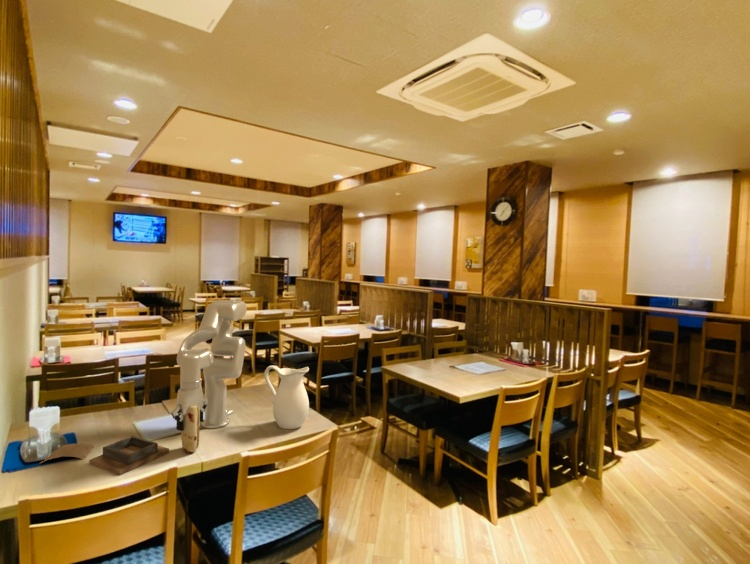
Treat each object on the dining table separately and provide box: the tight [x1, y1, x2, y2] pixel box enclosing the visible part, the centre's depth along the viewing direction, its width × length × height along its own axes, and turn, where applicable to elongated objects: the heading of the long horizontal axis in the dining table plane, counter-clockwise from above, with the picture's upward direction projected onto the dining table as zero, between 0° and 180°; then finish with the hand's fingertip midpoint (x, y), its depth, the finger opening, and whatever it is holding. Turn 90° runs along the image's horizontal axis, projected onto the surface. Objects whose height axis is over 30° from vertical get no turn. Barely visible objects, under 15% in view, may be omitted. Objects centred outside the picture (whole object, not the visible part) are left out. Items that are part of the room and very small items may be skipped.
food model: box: [180, 405, 201, 454], centre depth 165 cm, size 10×7×20 cm
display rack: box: [88, 435, 170, 476], centre depth 158 cm, size 20×18×5 cm
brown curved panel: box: [40, 442, 95, 464], centre depth 158 cm, size 16×11×3 cm
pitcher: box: [263, 365, 310, 430], centre depth 195 cm, size 24×17×28 cm
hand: (190, 425), depth 165 cm, fingers open, 9 cm apart
